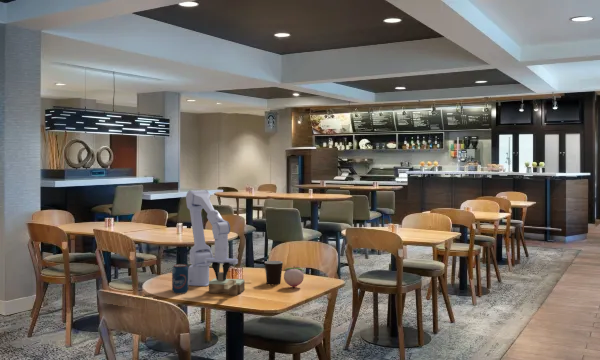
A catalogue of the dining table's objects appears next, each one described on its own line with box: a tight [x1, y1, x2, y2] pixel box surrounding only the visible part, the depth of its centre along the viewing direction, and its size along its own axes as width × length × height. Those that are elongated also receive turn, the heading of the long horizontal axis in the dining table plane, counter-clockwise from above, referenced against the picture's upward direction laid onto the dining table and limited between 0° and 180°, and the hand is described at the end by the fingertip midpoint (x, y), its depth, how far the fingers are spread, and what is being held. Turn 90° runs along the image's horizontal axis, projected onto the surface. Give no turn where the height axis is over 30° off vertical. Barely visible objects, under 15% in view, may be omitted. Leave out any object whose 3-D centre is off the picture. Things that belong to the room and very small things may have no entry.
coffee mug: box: [264, 260, 284, 286], centre depth 273 cm, size 12×9×10 cm
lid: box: [209, 271, 245, 285], centre depth 254 cm, size 14×8×5 cm, turn 81°
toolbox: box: [208, 278, 246, 297], centre depth 254 cm, size 14×13×5 cm
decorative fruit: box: [283, 267, 305, 288], centre depth 263 cm, size 9×8×10 cm
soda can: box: [171, 263, 189, 294], centre depth 253 cm, size 7×7×12 cm
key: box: [224, 280, 236, 289], centre depth 242 cm, size 3×10×2 cm, turn 171°
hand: (221, 279), depth 255 cm, fingers closed on lid, 2 cm apart
